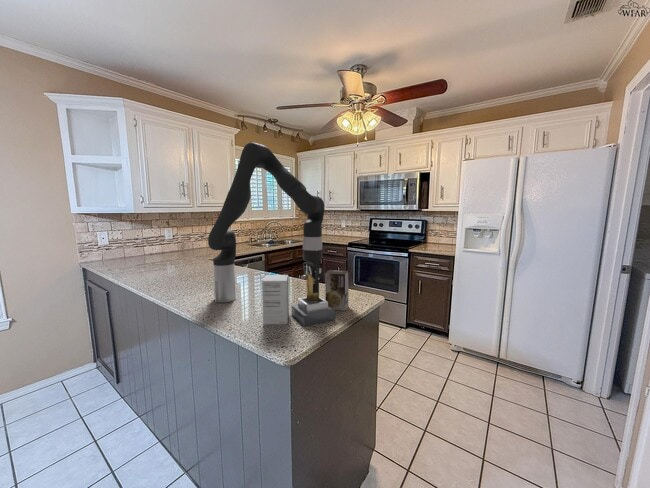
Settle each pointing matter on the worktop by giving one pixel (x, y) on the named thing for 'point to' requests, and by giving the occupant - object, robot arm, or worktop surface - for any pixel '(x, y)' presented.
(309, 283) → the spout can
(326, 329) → the worktop surface
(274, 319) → the supplement box
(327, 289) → the coffee box
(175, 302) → the worktop surface
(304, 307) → the grey square socket base
